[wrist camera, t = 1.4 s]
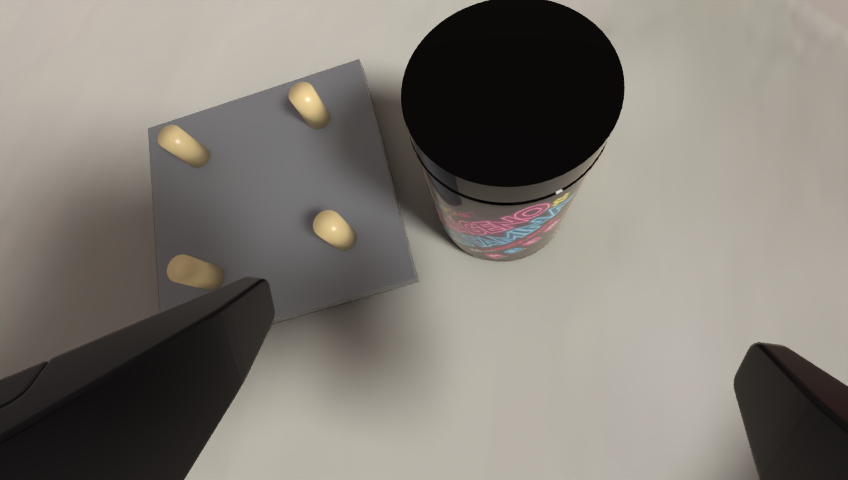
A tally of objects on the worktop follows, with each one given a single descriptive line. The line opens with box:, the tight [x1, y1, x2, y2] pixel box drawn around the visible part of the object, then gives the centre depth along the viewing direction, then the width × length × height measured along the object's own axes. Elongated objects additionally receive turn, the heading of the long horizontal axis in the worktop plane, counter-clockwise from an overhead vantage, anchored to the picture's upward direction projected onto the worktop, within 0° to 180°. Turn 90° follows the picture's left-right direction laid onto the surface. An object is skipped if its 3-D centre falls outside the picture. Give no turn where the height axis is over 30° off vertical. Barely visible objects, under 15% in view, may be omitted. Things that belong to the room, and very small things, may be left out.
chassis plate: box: [148, 59, 419, 324], centre depth 23 cm, size 14×14×4 cm
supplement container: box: [401, 0, 624, 262], centre depth 18 cm, size 7×7×10 cm
